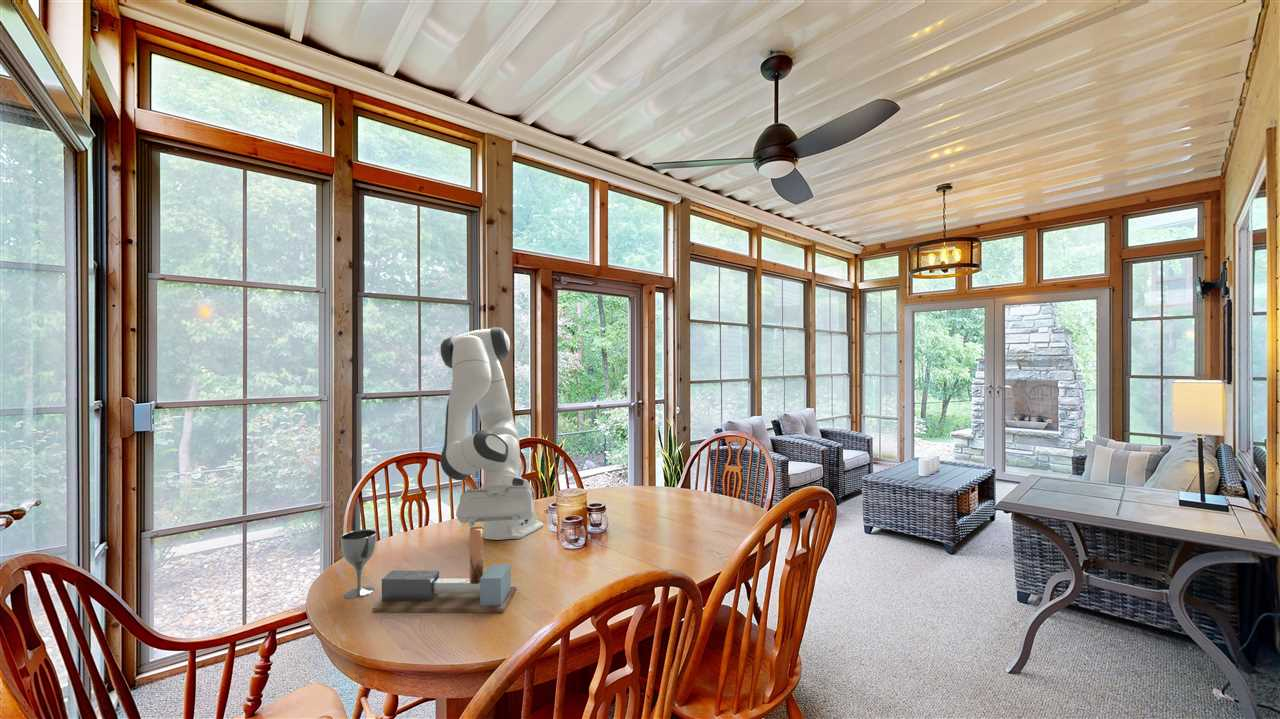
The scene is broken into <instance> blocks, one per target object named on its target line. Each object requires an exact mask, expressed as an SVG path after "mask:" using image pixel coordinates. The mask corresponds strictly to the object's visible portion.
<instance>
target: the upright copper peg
mask: <svg viewBox="0 0 1280 719" xmlns="http://www.w3.org/2000/svg"><path fill="white" fill-rule="evenodd" d="M483 574H484V538H483V527H482V526H473V527H472V528H470V527H469V578H440V577H439V578H435V579H434V580H433V581H432V593H462V594H480V578H481V577H482V575H483Z"/></svg>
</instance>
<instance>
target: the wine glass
mask: <svg viewBox="0 0 1280 719" xmlns="http://www.w3.org/2000/svg"><path fill="white" fill-rule="evenodd" d="M340 541H341V542H340V543H341V551H342V554H343V558H344V559H345V561H346V562H347V563H348V564H349V565H351V566H352V567H353V568H354V570H355V573H356V580H357V581H356V582H357V585H356V587H353V588H350V589H348V590H345V592H344V593H343V595H342V596H343V597H344V598H345V599H359V598H364V597H366V596H369V595H371V594H373V593H374V591H375V587H374V586H373V587H372V586H369V585H367V586H366V585H364V586H362V582H361V580H362V571H363V569H364V567H365V565H366V564H367V563H368V561H370V559H371V558H372V556H373V555H374V554H375V549H376V543H377V532H376V529H366V528H365V529H364V528H363V529H358V530H357V529H355V530H351V531H348V532H345V533H344V534H342V535H341V540H340Z"/></svg>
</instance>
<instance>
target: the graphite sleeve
mask: <svg viewBox="0 0 1280 719" xmlns="http://www.w3.org/2000/svg"><path fill="white" fill-rule="evenodd" d="M435 578H440V570H406V569H405V570H402V569H399V570H396V569H395V570H391V571H390V572H389V573H387V574H386V575H385V576H384V577H383V578H381V600H382V601H413V602H430V601H431V600H432V599H433V598H434V597H435V596H436V595H437V594H438V593H432V581H433V580H434V579H435Z"/></svg>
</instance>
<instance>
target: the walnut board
mask: <svg viewBox="0 0 1280 719" xmlns="http://www.w3.org/2000/svg"><path fill="white" fill-rule="evenodd" d="M515 591H517V586H511V589H510V591H509V593H508V594H507V596H506V598H505V599H504V601H503V603H502V604H501V605H480V594H462V593H438V594H437V595H436V596H435V597H434V598H433V599H432V600H431V601H430V602H413V601H382V599H380V600H379V601H378V602H377V603H376V604H374V606H373V607H372V613H478V612H499V613H500V612H501V613H500V614H503V613H502V612H504V613H505V612H506V610H507V608H508V606H509V604H510V603H511V601H510V600H512V599H513V597H514V595H515V594H516V592H515ZM514 593H515V594H514ZM511 598H512V599H511ZM506 607H507V608H506ZM499 613H498V614H499Z"/></svg>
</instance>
